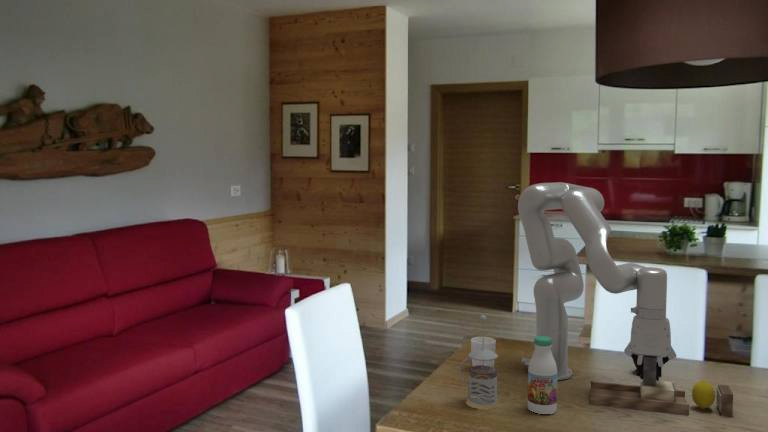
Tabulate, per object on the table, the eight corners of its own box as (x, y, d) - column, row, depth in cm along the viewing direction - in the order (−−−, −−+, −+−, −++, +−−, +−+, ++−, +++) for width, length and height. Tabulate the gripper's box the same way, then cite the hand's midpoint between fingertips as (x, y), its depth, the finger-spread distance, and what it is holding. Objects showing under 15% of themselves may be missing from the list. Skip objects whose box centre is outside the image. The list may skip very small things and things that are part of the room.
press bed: (589, 404, 178) (589, 394, 178) (590, 390, 189) (590, 381, 188) (689, 415, 170) (689, 404, 170) (684, 400, 180) (684, 390, 180)
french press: (498, 411, 174) (499, 320, 172) (455, 407, 177) (455, 318, 175) (502, 398, 183) (503, 312, 181) (462, 394, 187) (462, 309, 184)
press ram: (641, 401, 176) (642, 358, 175) (640, 392, 182) (641, 351, 181) (676, 405, 173) (677, 361, 172) (673, 396, 179) (674, 354, 178)
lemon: (717, 413, 171) (718, 384, 170) (694, 412, 172) (695, 383, 171) (711, 405, 176) (712, 377, 175) (689, 404, 177) (690, 376, 176)
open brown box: (719, 415, 170) (720, 393, 169) (715, 405, 176) (716, 384, 176) (732, 417, 169) (733, 394, 168) (727, 407, 175) (728, 385, 175)
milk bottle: (525, 404, 179) (525, 333, 177) (553, 404, 178) (554, 333, 177) (530, 415, 171) (531, 342, 169) (560, 415, 171) (561, 341, 169)
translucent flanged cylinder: (477, 365, 212) (478, 335, 212) (499, 369, 208) (500, 339, 207) (466, 371, 206) (466, 341, 205) (488, 376, 202) (488, 345, 201)
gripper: (619, 314, 175) (617, 380, 177) (685, 318, 170) (683, 386, 172) (618, 308, 182) (617, 371, 184) (682, 312, 177) (680, 377, 179)
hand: (649, 377), depth 178 cm, fingers closed on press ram, 3 cm apart
